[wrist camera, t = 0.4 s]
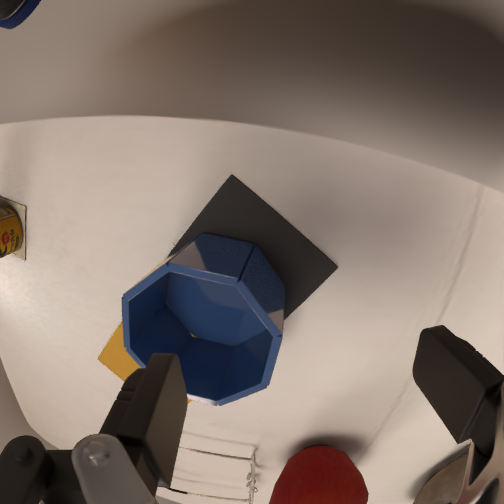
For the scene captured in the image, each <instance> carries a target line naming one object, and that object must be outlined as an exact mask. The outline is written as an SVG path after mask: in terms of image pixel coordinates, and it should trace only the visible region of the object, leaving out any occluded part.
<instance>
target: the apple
mask: <svg viewBox="0 0 504 504" xmlns="http://www.w3.org/2000/svg"><path fill="white" fill-rule="evenodd" d="M368 494H369V493H368V491H367V488H366V485H365V482H364V479H363V477H362V474H361V473H360V472H359V470H358V469H357V467H356V466H355V465H354V463H353V462H352V460H351V459H350V458H349V456H348V455H347V454H346V453H345V452H342V451H340V450H337V449H335V448H332V447H329V446H324V445H318V446H312V447H308V448H306V449H304V450H302V451H300V452H299V453H297V454H295V455H294V456H293V457H291V458H290V459H289V460H288V462H287V463H286V465H285V467H284V469H283V471H282V473H281V475H280V477H279V478H278V480H277V482H276V484H275V486H274V490H273V493H272V496H271V499H270V502H269V504H367V501H368Z"/></svg>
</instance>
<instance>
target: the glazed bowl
mask: <svg viewBox="0 0 504 504" xmlns="http://www.w3.org/2000/svg"><path fill="white" fill-rule="evenodd" d="M285 292H286V289H285V285H284V284H283V282H282V281H281V279H280V278H279V276H278V275H277V274H276V272H275V271H274V269H273V268H272V266H271V265H270V264H269V262H268V261H267V259H266V258H265V256H264V255H263V254H262V252H261V251H260V249H259V248H258V247H257V245H255V246H254V243H250V242H246V241H241V240H236V239H231V238H226V237H221V236H216V235H211V234H206V233H203V234H202V235H201V234H199V235H198V236H196V237H195V238H193V239H192V240H191V241H189V242H188V243H187V244H185V245H184V246H182V247H181V248H180V249H178V250H177V251H176V252H174V253H173V254H172V255H170V256H169V257H167V258H166V259H165V260H164V261H162V262H161V263H160V264H159V265H157V266H156V267H155V268H154V269H153V270H151V271H150V272H149V273H148V274H147V275H145V276H144V277H143V278H142V279H141V280H140V281H138V282H137V283H136V284H135V285H134V286H132V287H131V288H130V289H129V290H128V291H127V292H125V293H124V294H123V297H122V323H123V341H124V347H125V348H126V349H125V350H126V351H127V353H128V354H129V355H130V356H131V357H132V358H133V359H134V361H135V362H136V363H137V364H138V365H139V366H140V367H141V368H146V366H147V364H148V362H149V360H150V358H151V356H152V354H153V353H176V354H177V355H178V357H179V361H180V365H181V369H182V374H183V378H184V382H185V386H186V390H187V398H188V399H192V400H195V401H199V402H203V403H207V404H211V405H215V406H217V405H219V406H221V405H224V404H227V403H230V402H232V401H235V400H238V399H240V398H243V397H245V396H248V395H250V394H253V393H255V392H258V391H260V390H263V389H265V388H267V386H269V383H270V380H271V377H272V373H273V370H274V366H275V363H276V359H277V356H278V352H279V349H280V345H281V341H282V338H283V324H284V308H285ZM167 302H168V305H169V307H170V308H169V307H168V306H167V304H166V303H167ZM266 329H267V330H266ZM190 333H191V334H192V335H194V336H195V337H193V336H192V335H191V334H190ZM196 337H197V338H196ZM229 345H236V346H234V347H233V346H229Z"/></svg>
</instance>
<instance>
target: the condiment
mask: <svg viewBox="0 0 504 504" xmlns="http://www.w3.org/2000/svg"><path fill="white" fill-rule="evenodd" d="M11 253H12V254H14V255H15V256H17V257H19V258H21V259H23V260H24V261H25V206H23V205H20V204H18V203H15V202H13V201H10V200H7V199H4V198H2V197H0V258H2V257H4V256H6V255H8V254H11Z"/></svg>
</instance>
